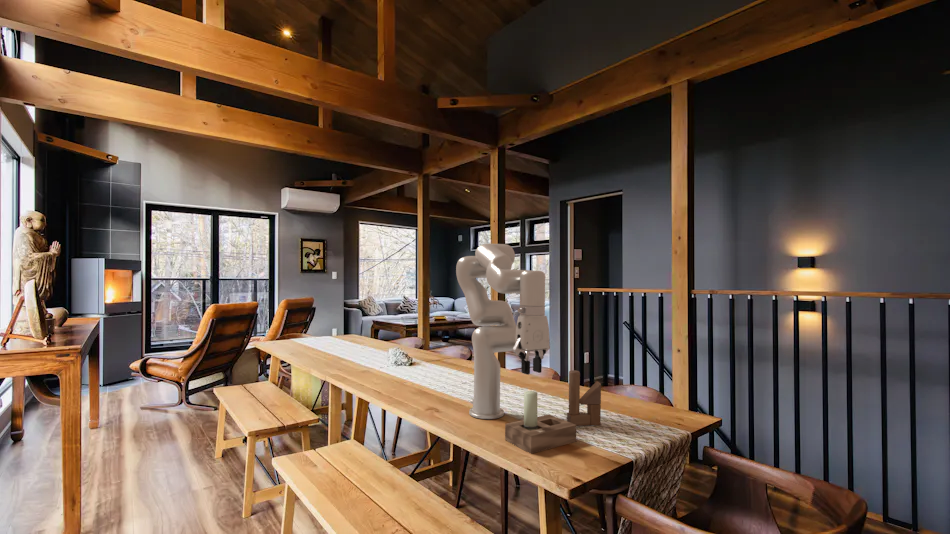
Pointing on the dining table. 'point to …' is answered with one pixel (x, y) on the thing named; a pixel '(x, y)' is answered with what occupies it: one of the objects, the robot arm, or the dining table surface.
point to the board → (541, 434)
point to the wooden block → (583, 402)
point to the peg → (530, 410)
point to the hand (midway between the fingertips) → (531, 372)
